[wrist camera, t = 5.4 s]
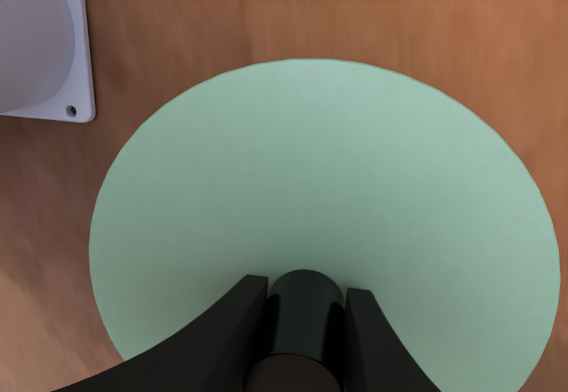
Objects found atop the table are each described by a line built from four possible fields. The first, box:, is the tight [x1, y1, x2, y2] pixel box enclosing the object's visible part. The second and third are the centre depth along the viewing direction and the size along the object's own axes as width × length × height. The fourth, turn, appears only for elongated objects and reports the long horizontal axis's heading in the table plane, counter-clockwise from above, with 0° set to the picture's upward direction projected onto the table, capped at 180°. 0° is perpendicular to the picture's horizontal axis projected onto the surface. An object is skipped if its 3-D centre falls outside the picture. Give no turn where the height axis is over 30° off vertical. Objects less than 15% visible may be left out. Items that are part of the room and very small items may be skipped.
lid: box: [89, 58, 560, 392], centre depth 11 cm, size 13×13×4 cm
